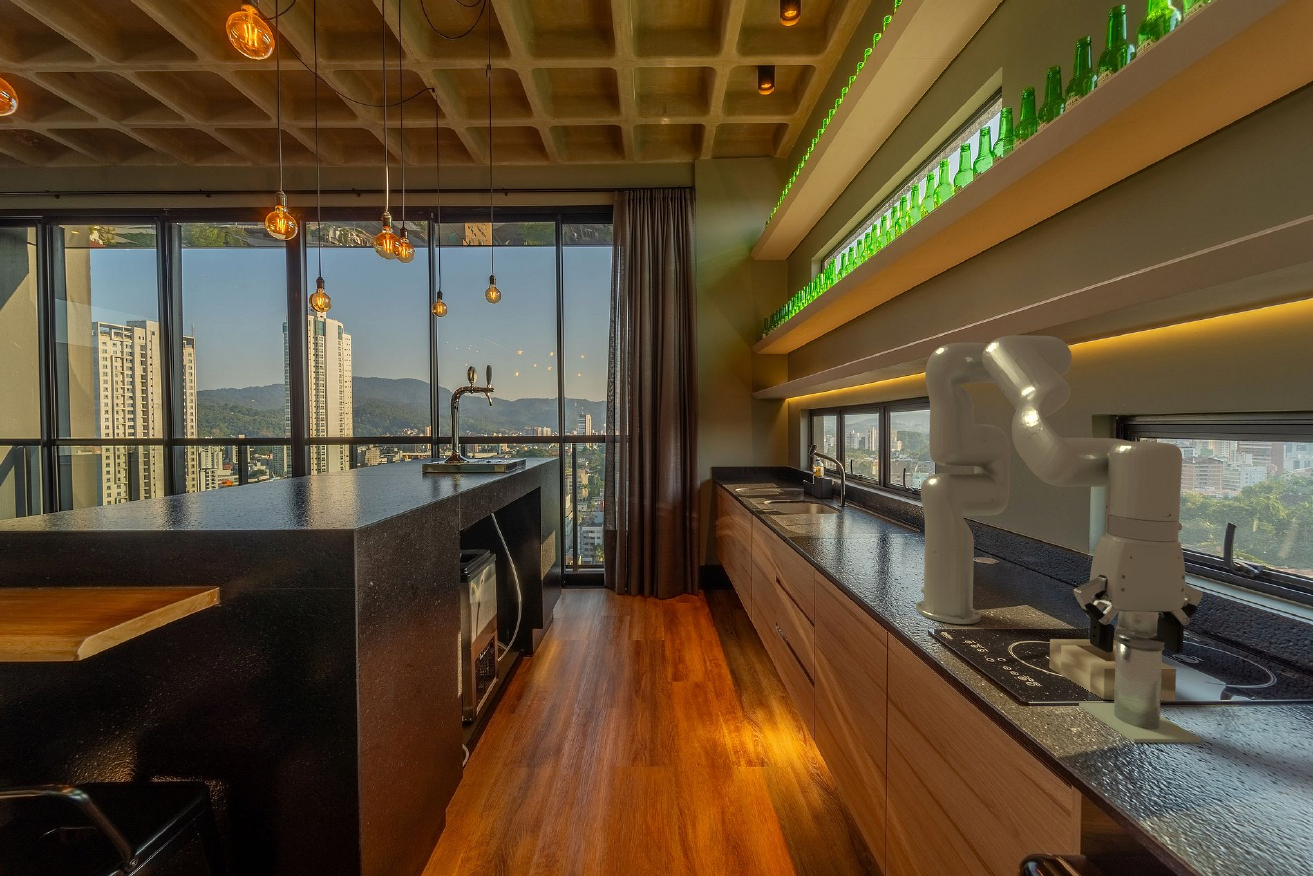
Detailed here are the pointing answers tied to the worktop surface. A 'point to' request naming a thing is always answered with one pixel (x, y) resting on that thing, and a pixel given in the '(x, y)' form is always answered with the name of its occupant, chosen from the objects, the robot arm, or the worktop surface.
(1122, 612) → the plastic bottle
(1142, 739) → the mat
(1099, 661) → the tan square frame
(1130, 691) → the grey cylindrical piece
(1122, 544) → the robot arm
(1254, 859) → the worktop surface
